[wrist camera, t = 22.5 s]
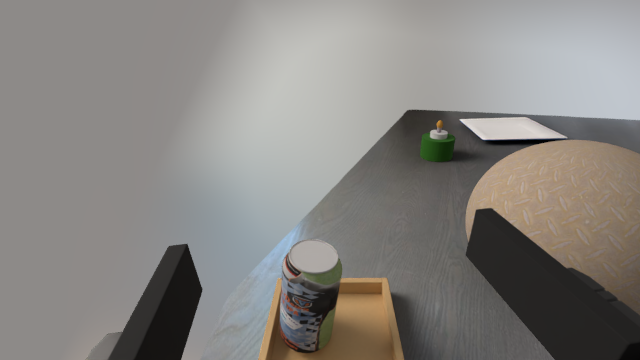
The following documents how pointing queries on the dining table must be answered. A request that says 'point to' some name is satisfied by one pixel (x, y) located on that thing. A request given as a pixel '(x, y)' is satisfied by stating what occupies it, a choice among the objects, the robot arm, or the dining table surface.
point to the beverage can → (309, 295)
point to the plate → (510, 129)
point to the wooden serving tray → (345, 325)
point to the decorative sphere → (573, 208)
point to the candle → (437, 145)
